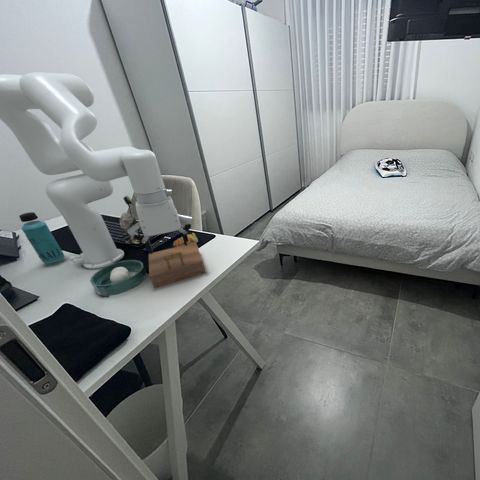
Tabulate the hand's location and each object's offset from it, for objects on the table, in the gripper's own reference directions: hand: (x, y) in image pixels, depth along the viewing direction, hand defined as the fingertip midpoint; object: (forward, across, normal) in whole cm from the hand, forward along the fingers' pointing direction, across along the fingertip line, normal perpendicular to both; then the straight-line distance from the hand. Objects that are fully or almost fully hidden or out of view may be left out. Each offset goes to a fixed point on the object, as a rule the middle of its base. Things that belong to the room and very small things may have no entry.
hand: (169, 247), depth 81 cm
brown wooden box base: (+13, 0, -5) cm, 14 cm away
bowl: (+13, +16, -8) cm, 22 cm away
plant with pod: (+14, +14, -41) cm, 45 cm away
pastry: (+13, -6, -25) cm, 29 cm away
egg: (+12, +17, -8) cm, 22 cm away
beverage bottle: (+14, +40, -37) cm, 56 cm away
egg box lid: (+7, 0, -5) cm, 9 cm away
